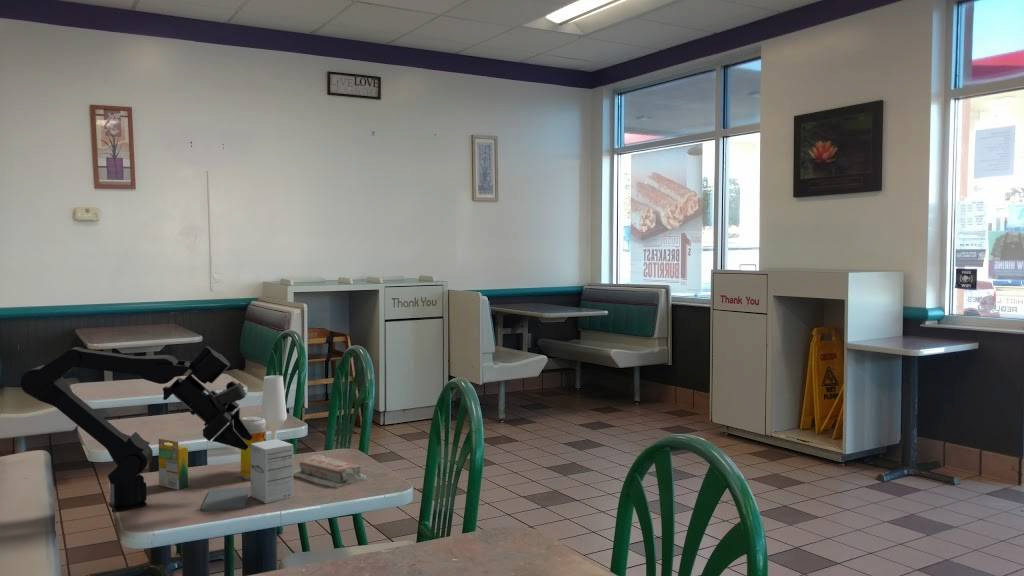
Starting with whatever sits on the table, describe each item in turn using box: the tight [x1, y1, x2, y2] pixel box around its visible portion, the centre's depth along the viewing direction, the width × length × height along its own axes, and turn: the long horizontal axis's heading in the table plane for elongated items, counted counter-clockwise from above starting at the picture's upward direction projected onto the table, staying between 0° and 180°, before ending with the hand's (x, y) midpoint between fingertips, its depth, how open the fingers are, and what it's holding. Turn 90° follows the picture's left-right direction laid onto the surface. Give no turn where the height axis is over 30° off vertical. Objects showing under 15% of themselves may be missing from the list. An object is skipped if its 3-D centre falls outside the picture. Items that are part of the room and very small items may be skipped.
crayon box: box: [158, 438, 189, 491], centre depth 192 cm, size 7×3×12 cm, turn 61°
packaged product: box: [293, 454, 367, 489], centre depth 201 cm, size 18×5×10 cm
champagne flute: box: [260, 374, 288, 440], centre depth 209 cm, size 7×7×24 cm
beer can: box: [240, 415, 267, 480], centre depth 200 cm, size 6×6×15 cm
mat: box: [200, 486, 251, 512], centre depth 182 cm, size 9×14×1 cm, turn 13°
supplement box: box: [250, 438, 294, 504], centre depth 184 cm, size 7×7×13 cm
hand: (249, 443), depth 183 cm, fingers open, 9 cm apart
